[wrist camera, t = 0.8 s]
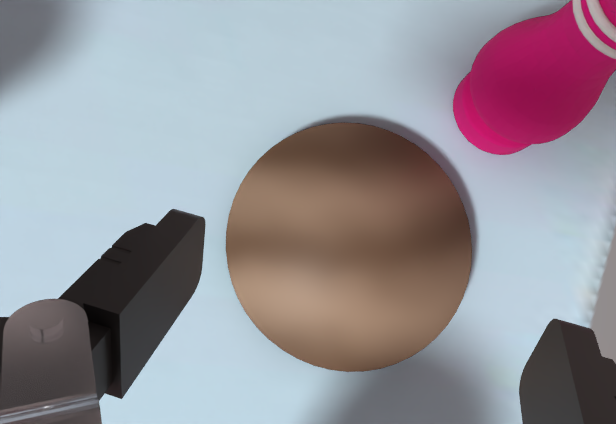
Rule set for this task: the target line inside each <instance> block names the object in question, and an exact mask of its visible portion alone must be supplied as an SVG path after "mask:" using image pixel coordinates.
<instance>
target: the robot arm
mask: <svg viewBox="0 0 616 424" xmlns="http://www.w3.org/2000/svg"><path fill="white" fill-rule="evenodd" d="M204 236H205V219H204V218H203V217H200V216H197V215H193V214H190V213H186V212H183V211H179V210H176V209H172V210H170V211H169V212H168V213H167V214H166V215H165V216H164V218H163V219H162V220H161V221H160V222H159V223H158V224H157V225H156V226H154V225H151V224H147V223H145V224H142V225H140V226H138V227H136V228H134V229H131V230H129V231H127V232H125V233H124V234H123V235H122V236H121V237H120V238H119V239H118V240H117V241H116V242H115V243H114V244H113V245H112V248H109V249H108V250H107V251H106V252H105V253H104V254H103V255H102V256H101V259H98V260H97V261H96V262H95V263H94V264H93V265H92V266H91V267H90V268H89V269H88V270H87V271H86V272H85V273H84V274H83V275H82V276H81V277H80V278H79V279H78V280H77V281H76V282H75V283H74V284H73V285H72V286H70V287H69V288H68V289H67V290H66V291H65V292H64V293H63V294H62V295H61V296H60V297H59V298H58V299H45V300H40V301H36V302H33V303H30V304H28V305H25V306H24V307H22V308H20V309H18V310H17V311H16V312H14V313H13V314H12V315H11V316H10V317H0V424H102V422H101V414H100V406H99V400H100V399H101V397H102V396H103V395H104V393H106V394H109V395H112V396H115V397H118V398H121V399H122V398H123V396H124V395H125V394H126V392H127V391H128V389H129V388H130V386H131V385H132V383H133V382H134V380H135V379H136V377H137V376H138V374H139V373H140V372H141V370H142V369H143V367H144V366H145V364H146V363H147V361H148V360H149V358H150V357H151V355H152V354H153V352H154V351H155V350H156V348H157V347H158V345H159V344H160V342H161V341H162V339H163V338H164V336H165V335H166V333H167V332H168V330H169V329H170V328H171V326H172V325H173V323H174V322H175V320H176V319H177V317H178V316H179V314H180V313H181V311H182V310H183V308H184V307H185V306H186V304H187V303H188V301H189V300H190V298H191V297H192V295H193V294H194V292H195V290H196V288H197V285H198V283H199V280H200V276H201V271H202V261H203V249H204ZM519 396H520V404H521V412H522V421H523V424H616V364H615V363H614V361H613V360H612V359H608V358H605V357H602V356H601V353H600V350H599V347H598V343H597V340H596V337H595V334H594V332H593V330H592V329H590V328H586V327H583V326H579V325H576V324H572V323H569V322H565V321H562V320H558V319H553V320H552V321H550V323H549V324H548V326H547V327H546V329H545V331H544V333H543V334H542V336H541V338H540V340H539V342H538V343H537V345H536V347H535V349H534V351H533V352H532V354H531V356H530V358H529V360H528V361H527V363H526V365H525V367H524V370H523V372H522V376H521V380H520V387H519Z"/></svg>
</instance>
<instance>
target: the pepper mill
mask: <svg viewBox="0 0 616 424" xmlns="http://www.w3.org/2000/svg"><path fill="white" fill-rule="evenodd" d="M615 70H616V0H571V1H570V2H569V3H567V4H566V5H565V6H564V7H562V8H561V9H560V10H559V11H557V12H555V13H553V14H551V15H547V16H541V17H536V18H532V19H528V20H525V21H522V22H519V23H516V24H514V25H512V26H510V27H508V28H506V29H504V30H502V31H501V32H499V33H498V34H497V35H496V36H494V37H493V38H492V39H491V40H490V41H489V42H487V43H486V44H485V45H484V47H483V48H482V49H481V50H480V52H479V53H478V55H477V56H476V59H475V61H474V63H473V65H472V70H471V72H470V73H469V74H468V75H467V76H466V77H465V78H464V79H463V80H462V81H461V82H460V84H459V85H458V87H457V89H456V92H455V95H454V100H453V111H454V116H455V120H456V122H457V125H458V127H459V129H460V131H461V132H462V134H463V135H464V136H465V137H466V139H467V140H468V141H469V142H471V143H472V144H473V145H475V146H476V147H477V148H479V149H481V150H483V151H485V152H489V153H492V154H499V155H506V154H512V153H515V152H518V151H520V150H522V149H524V148H526V147H528V146H529V145H531V144H540V143H545V142H549V141H552V140H555V139H557V138H559V137H561V136H563V135H565V134H566V133H567V132H569V131H570V130H571V129H573V128H574V127H576V126H577V125H578V124H579V123H580V122H581V121H582V120H583V119H584V118H585V117H586V115H587V114H588V113H589V112H590V110H591V109H592V108H593V107H594V105H595V104H596V102H597V100H598V98H599V96H600V94H601V92H602V90H603V88H604V86H605V84H606V82H607V81H608V79H609V77H610V76H611V75H612V74H613V72H614V71H615Z"/></svg>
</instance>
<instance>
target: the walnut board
mask: <svg viewBox="0 0 616 424" xmlns="http://www.w3.org/2000/svg"><path fill="white" fill-rule="evenodd" d="M226 254H227V263H228V269H229V273H230V277H231V281H232V284H233V287H234V289H235V292H236V295H237V297H238V299H239V301H240V303H241V305H242V306H243V308H244V310H245V312H246V314H247V315H248V316H249V318H250V319H251V320H252V322H253V323H254V324H255V326H256V327H257V328H258V329H259V330H260V331H261V332H262V333H263V334H264V335H265V336H266V337H267V338H268V339H269V340H270V341H272V342H273V343H274V344H276V345H277V346H278V347H279V348H281V349H282V350H284V351H285V352H287V353H289V354H290V355H292V356H294V357H296V358H297V359H300V360H302V361H304V362H307V363H309V364H312V365H314V366H318V367H322V368H326V369H330V370H337V371H346V372H353V371H369V370H375V369H381V368H384V367H387V366H390V365H394V364H397V363H399V362H401V361H403V360H405V359H407V358H409V357H411V356H413V355H414V354H416V353H417V352H419V351H421V350H422V349H424V348H425V347H426V346H427V345H428V344H430V343H431V342H432V341H433V340H434V339H435V338H436V337H437V336H438V335H439V334H440V333H441V332H442V331H443V330H444V328H445V327H446V326H447V325H448V323H449V322H450V320H451V319H452V317H453V316H454V314H455V313H456V311H457V309H458V307H459V305H460V303H461V301H462V299H463V296H464V293H465V290H466V287H467V284H468V280H469V274H470V269H471V258H472V244H471V233H470V228H469V223H468V218H467V215H466V212H465V209H464V206H463V203H462V201H461V199H460V197H459V195H458V192H457V190H456V189H455V187H454V185H453V184H452V182H451V181H450V179H449V177H448V176H447V175H446V174H445V172H444V171H443V170H442V169H441V167H440V166H439V165H438V164H437V163H436V162H435V161H434V160H433V159H432V158H431V157H430V156H429V155H428V154H427V153H426V152H424V151H423V150H422V149H420V148H419V147H418V146H417V145H415V144H414V143H412V142H410V141H409V140H407V139H405V138H403V137H402V136H400V135H397V134H395V133H393V132H390V131H388V130H385V129H382V128H378V127H375V126H371V125H365V124H359V123H332V124H324V125H320V126H315V127H311V128H308V129H305V130H303V131H300V132H297V133H295V134H293V135H291V136H289V137H287V138H286V139H284V140H282V141H281V142H279V143H278V144H276V145H275V146H274V147H272V148H271V149H270V150H268V151H267V152H266V153H265V154H264V155H263V156H262V157H261V158H260V159H259V160H258V161H257V162H256V163H255V165H254V166H253V167H252V168H251V169H250V171H249V172H248V174H247V175H246V177H245V178H244V180H243V181H242V183H241V185H240V187H239V189H238V191H237V193H236V196H235V198H234V200H233V203H232V207H231V210H230V214H229V218H228V224H227V231H226Z"/></svg>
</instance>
